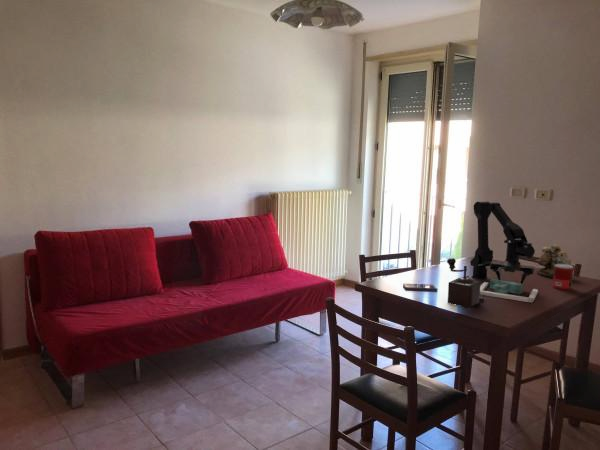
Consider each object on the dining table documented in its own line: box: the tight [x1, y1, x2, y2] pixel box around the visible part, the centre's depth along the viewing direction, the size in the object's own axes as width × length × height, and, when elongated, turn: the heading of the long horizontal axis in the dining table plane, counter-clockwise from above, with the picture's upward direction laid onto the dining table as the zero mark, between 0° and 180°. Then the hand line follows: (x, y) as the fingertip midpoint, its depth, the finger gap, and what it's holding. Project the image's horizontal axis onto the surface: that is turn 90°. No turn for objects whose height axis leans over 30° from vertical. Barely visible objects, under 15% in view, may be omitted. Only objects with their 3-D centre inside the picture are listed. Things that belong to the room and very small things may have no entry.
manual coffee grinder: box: [446, 257, 481, 308], centre depth 217 cm, size 16×11×18 cm
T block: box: [489, 278, 524, 295], centre depth 233 cm, size 14×12×4 cm
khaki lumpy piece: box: [535, 244, 572, 279], centre depth 263 cm, size 18×12×17 cm, turn 40°
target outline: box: [480, 281, 539, 304], centre depth 231 cm, size 24×18×2 cm
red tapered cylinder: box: [552, 264, 574, 291], centre depth 241 cm, size 8×8×11 cm
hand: (510, 285), depth 239 cm, fingers open, 9 cm apart
